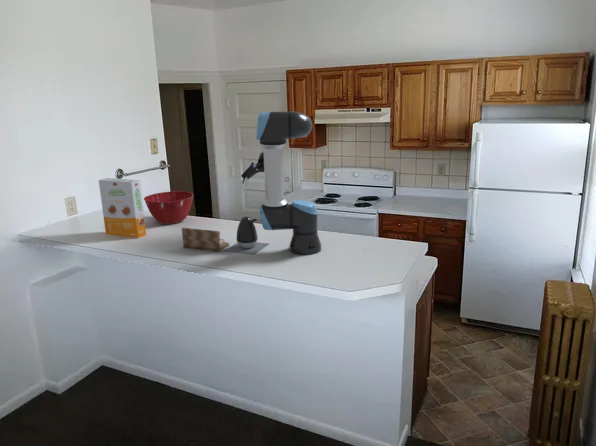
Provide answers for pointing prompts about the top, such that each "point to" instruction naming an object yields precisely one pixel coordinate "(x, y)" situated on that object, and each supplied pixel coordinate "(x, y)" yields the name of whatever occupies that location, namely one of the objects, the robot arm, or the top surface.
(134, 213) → the cereal box
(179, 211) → the mixing bowl
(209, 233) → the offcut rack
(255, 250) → the slate mat
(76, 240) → the top surface
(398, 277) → the top surface
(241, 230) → the black and white ovoid
